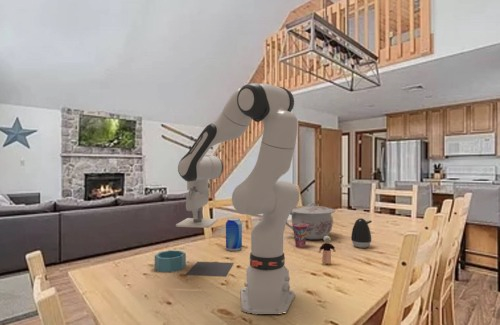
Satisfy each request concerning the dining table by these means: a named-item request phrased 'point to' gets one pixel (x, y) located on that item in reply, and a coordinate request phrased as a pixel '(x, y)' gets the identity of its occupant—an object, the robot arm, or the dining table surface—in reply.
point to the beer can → (233, 234)
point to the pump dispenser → (361, 233)
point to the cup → (300, 234)
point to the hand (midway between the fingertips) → (197, 218)
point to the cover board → (197, 222)
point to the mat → (210, 269)
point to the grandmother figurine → (326, 251)
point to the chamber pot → (313, 220)
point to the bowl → (170, 261)
